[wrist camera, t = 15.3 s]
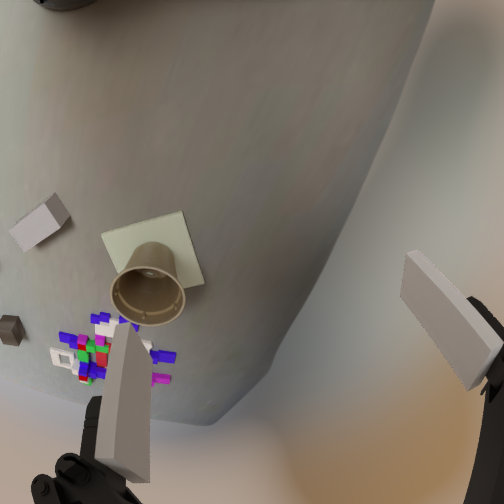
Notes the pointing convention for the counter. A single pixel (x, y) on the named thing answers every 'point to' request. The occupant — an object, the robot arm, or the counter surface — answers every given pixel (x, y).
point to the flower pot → (148, 287)
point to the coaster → (162, 231)
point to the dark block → (11, 330)
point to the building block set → (102, 351)
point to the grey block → (39, 222)
